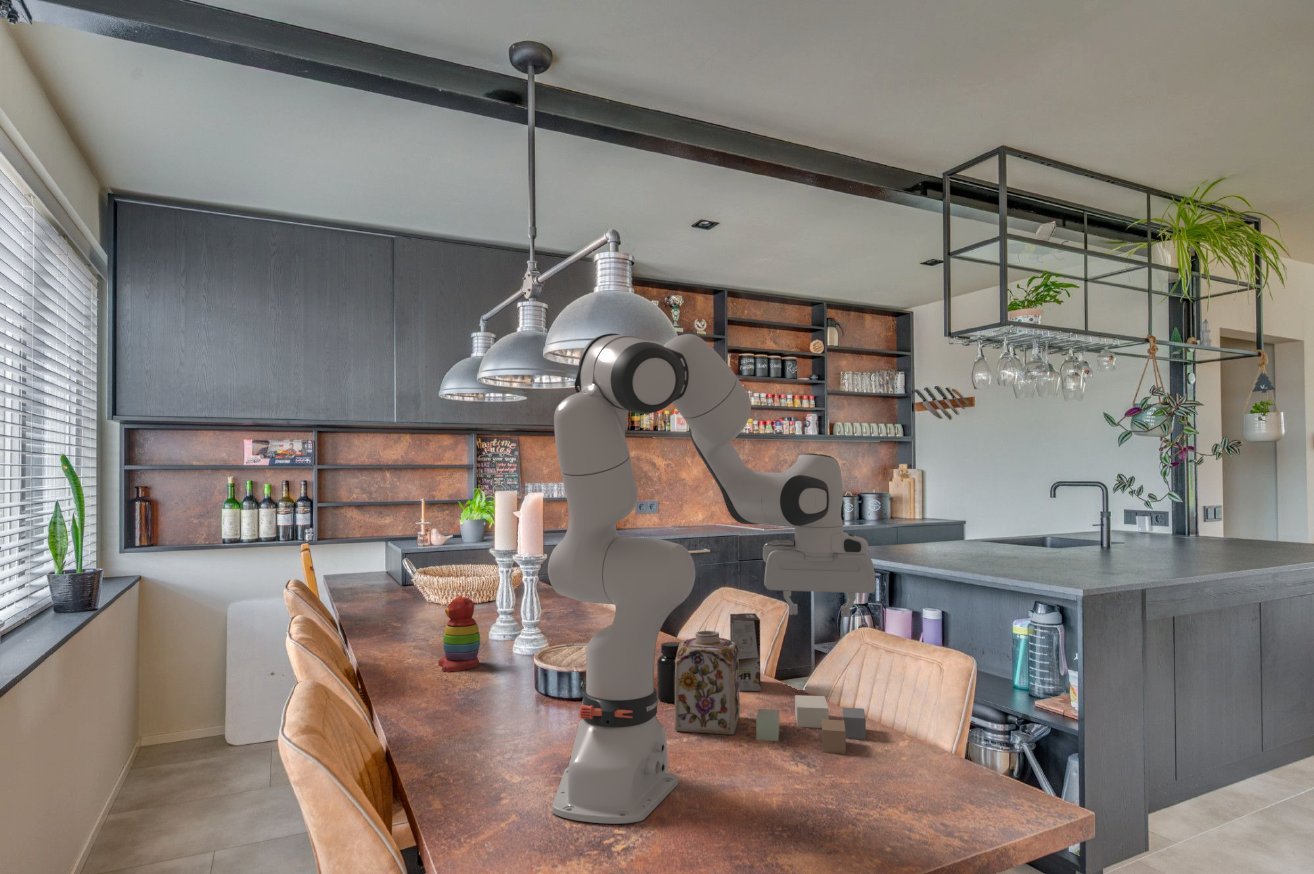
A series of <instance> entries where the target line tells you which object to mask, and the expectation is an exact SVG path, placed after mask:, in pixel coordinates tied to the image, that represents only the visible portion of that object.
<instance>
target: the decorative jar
mask: <svg viewBox="0 0 1314 874" xmlns="http://www.w3.org/2000/svg"><path fill="white" fill-rule="evenodd" d="M679 643H680V644H679V647H678V651H677V653H676V659H675V703H674V730H675V731H676V732H686V733H699V734H716V735H728V736H729V735H730V736H732V735H734V734H735V732H736V729H737V724H738V722H739V718H740V708H741V707H740V704H741V703H740V700H741V699H740V691H739V656H738V655H739V654H738V653H739V651H738V648H737V645H736V643H735V642H732V641H730V639H727V638H723V637H720V632H719V631H717V630H701V631H697V632H696V633H695V637H693V638H688V639H684V640H683V639H682V641H680V642H679Z"/></svg>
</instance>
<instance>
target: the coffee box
mask: <svg viewBox="0 0 1314 874" xmlns="http://www.w3.org/2000/svg"><path fill="white" fill-rule="evenodd" d="M729 631H730V632H729V637H730V638H729V640H730V641H732V642H735V643H736V645H737V648H738V651H739V653H738V654H739V655H738V656H739V692H744V691H745V692H750V691H751V692H760V691H761V620H760V618H759V616H758V615H757V613H753V612H752V613H751V612H750V613H749V612H748V613H745V612H744V613H730V614H729Z"/></svg>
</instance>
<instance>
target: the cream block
mask: <svg viewBox="0 0 1314 874" xmlns="http://www.w3.org/2000/svg"><path fill="white" fill-rule="evenodd" d="M794 716H795V719H796V725H797V727H798V728H819V729H820V728H821V729H822V719H827V720H830V717H829V706H828V702H827V699H826V696H825V695H798V694H796V695H795V694H794Z"/></svg>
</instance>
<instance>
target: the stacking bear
mask: <svg viewBox="0 0 1314 874" xmlns="http://www.w3.org/2000/svg"><path fill="white" fill-rule="evenodd" d="M444 612H445V614H446V617H447V618H448V619H449V620H448V621H447V622H446V626H445V630H444V634H443V638H442V639H443V640H442V642H443V644H442V646H443V650H444V655H445V656H441V658H439V659H438V661H437V662H438V664H437V665H438V666H440V665H441V666H440V667H441V670H442V671H443V672H444V671H446V672H445V673H451V672H450V671H455V672H461V670H462V671H466V670H465V669H467V670H470V668H471V669H474V668H476V667H478V666H480V660H479V657H478V654H479V649H480V647H481V635H480V634H481V633H480V631H479V625H478V623H477V621H476V620H475V619H474V618H473V616H474V612H475V603H474V602H473V600H472V599H470V598H469V597H466V596H465V597H463V596H460V595H458V597H455V598H454V599H452V600H451V602H450V603H449V605H448V606H447V607H446V608H445V611H444ZM473 667H474V668H473Z"/></svg>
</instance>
